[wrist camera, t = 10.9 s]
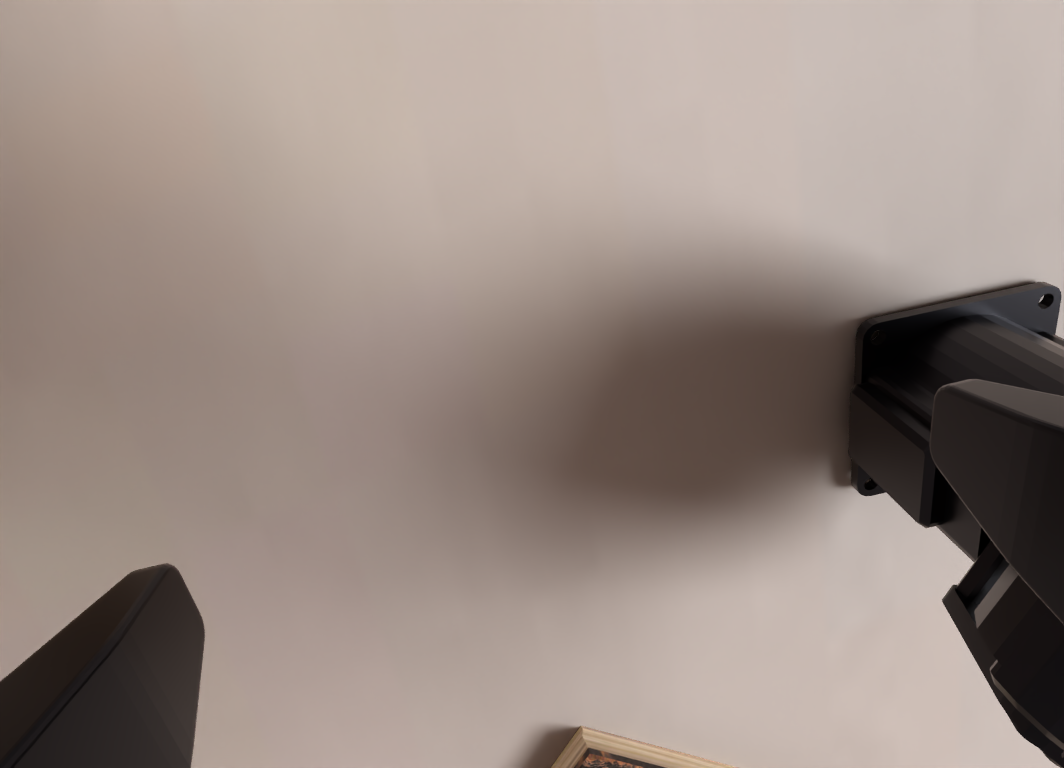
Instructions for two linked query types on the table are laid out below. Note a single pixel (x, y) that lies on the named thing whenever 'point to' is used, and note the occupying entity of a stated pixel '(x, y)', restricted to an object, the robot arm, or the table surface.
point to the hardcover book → (623, 753)
